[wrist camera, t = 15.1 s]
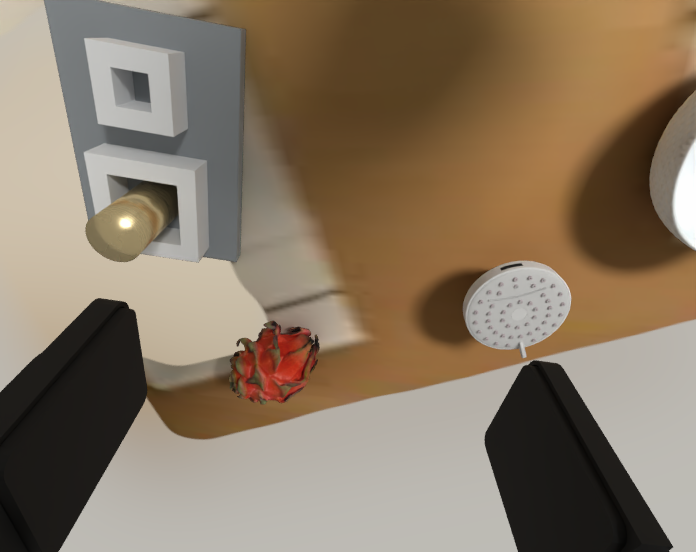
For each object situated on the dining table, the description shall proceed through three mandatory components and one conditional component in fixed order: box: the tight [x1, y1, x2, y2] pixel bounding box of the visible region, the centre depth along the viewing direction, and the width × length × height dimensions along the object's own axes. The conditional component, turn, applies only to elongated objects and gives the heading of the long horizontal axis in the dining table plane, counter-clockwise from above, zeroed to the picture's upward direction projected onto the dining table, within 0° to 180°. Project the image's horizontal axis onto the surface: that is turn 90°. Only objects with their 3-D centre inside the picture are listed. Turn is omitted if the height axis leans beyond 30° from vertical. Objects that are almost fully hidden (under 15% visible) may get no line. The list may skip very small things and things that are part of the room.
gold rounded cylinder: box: [86, 180, 179, 262], centre depth 32 cm, size 4×4×8 cm
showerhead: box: [463, 261, 571, 358], centre depth 38 cm, size 9×7×10 cm
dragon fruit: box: [229, 321, 320, 404], centre depth 44 cm, size 8×8×12 cm
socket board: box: [44, 0, 246, 262], centre depth 33 cm, size 20×14×4 cm
